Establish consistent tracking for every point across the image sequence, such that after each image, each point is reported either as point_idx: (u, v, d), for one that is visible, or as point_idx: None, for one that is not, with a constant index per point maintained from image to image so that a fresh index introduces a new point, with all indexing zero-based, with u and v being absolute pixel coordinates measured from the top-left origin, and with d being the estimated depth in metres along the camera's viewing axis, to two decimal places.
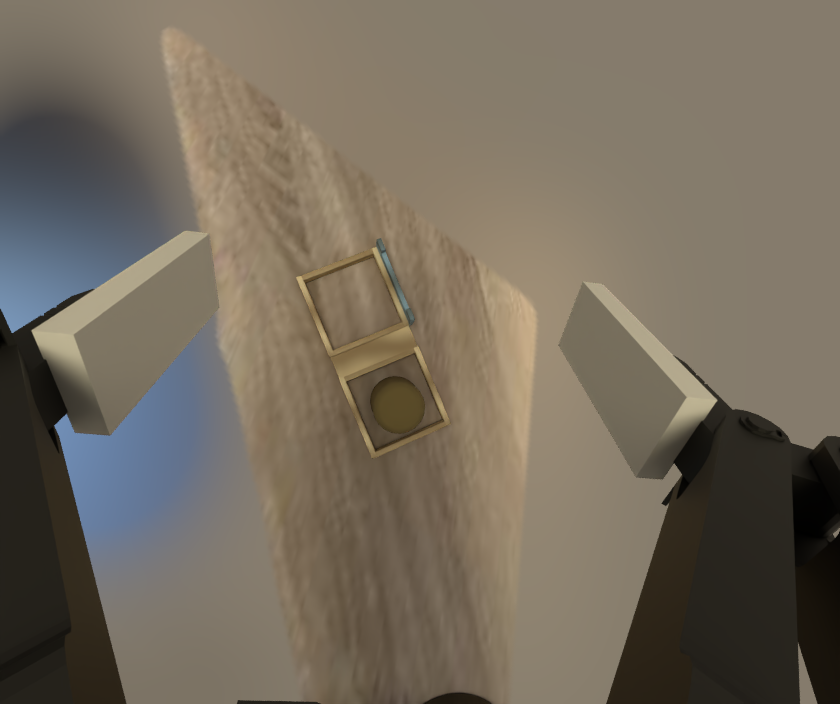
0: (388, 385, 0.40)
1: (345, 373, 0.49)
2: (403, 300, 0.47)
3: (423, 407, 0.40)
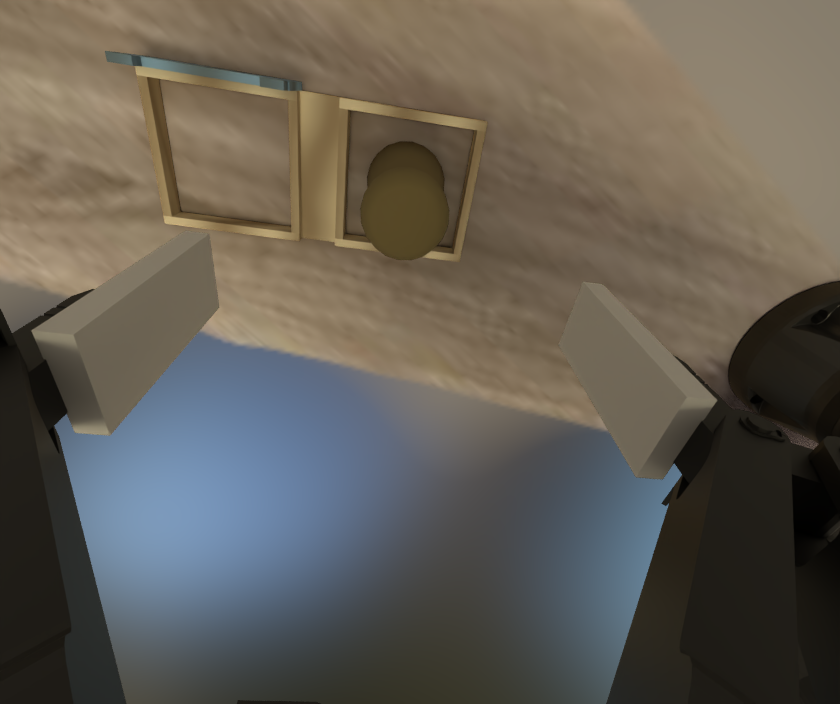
0: (361, 214, 0.23)
1: (332, 230, 0.33)
2: (244, 78, 0.25)
3: (426, 181, 0.22)
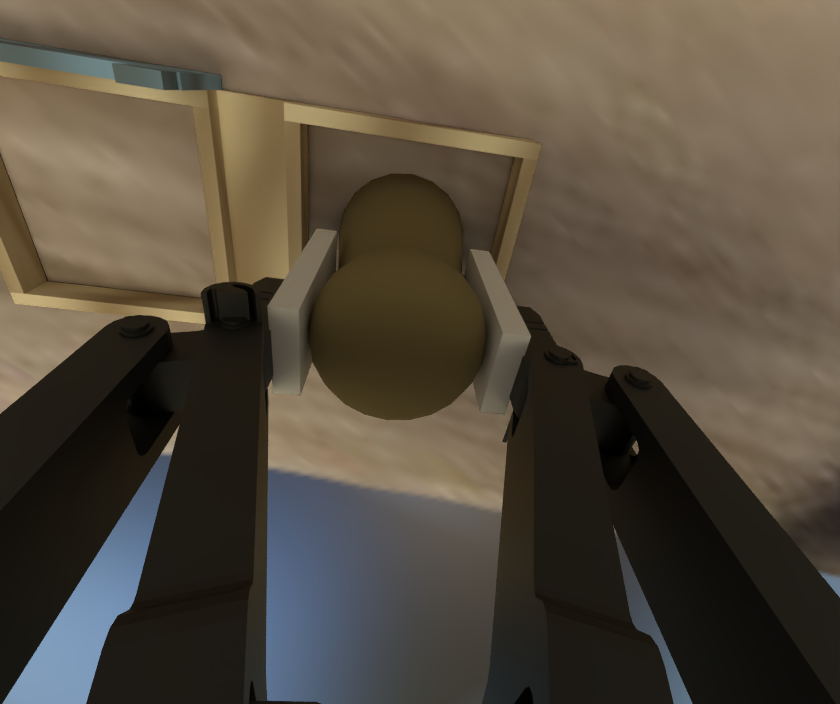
0: None
1: None
2: (93, 67, 0.13)
3: (442, 284, 0.10)
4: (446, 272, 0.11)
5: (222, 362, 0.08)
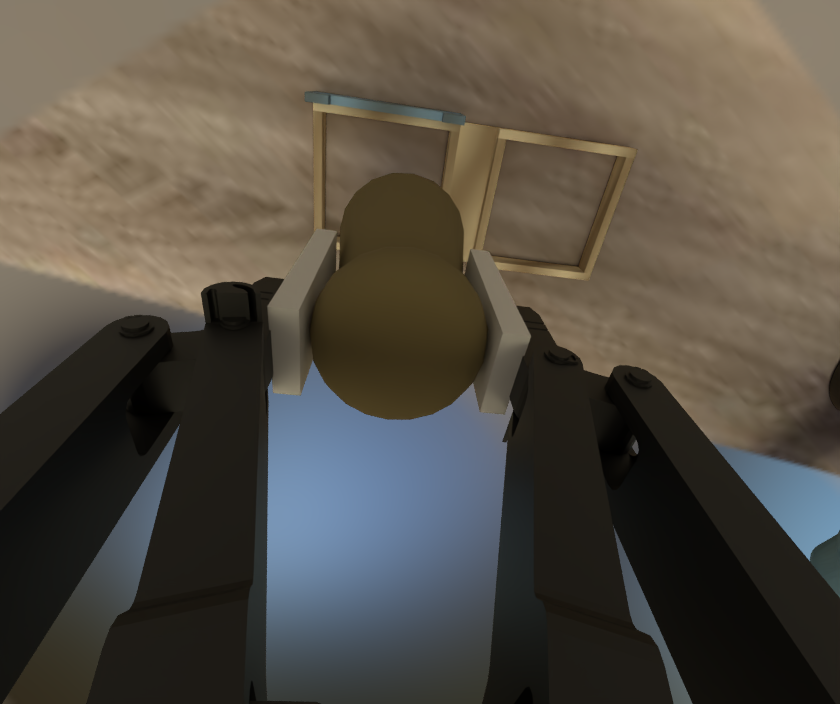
0: (311, 343, 0.11)
1: (468, 251, 0.34)
2: (424, 114, 0.27)
3: (444, 284, 0.10)
4: (447, 271, 0.11)
5: (222, 362, 0.08)
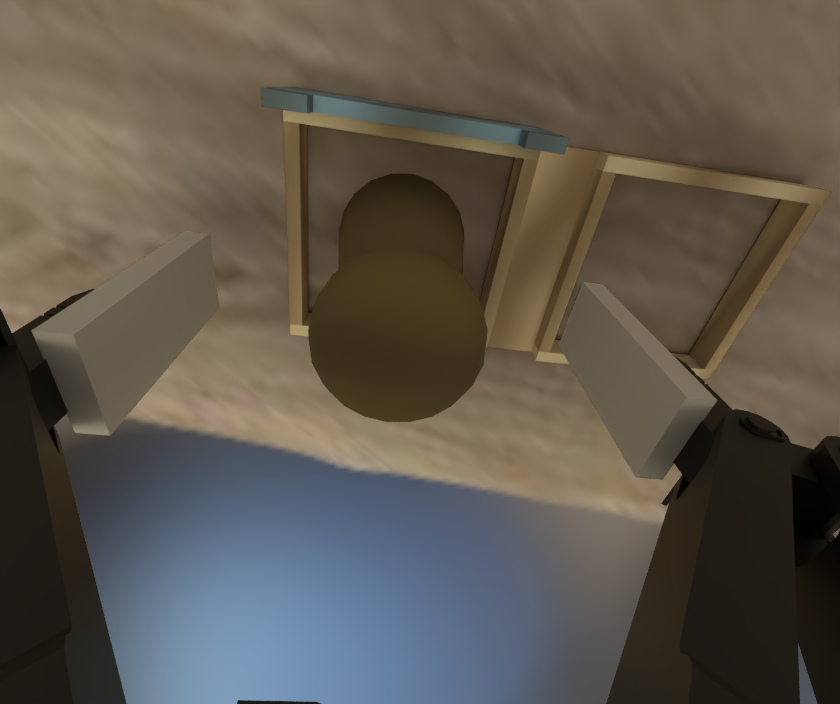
0: (310, 345, 0.11)
1: (530, 337, 0.22)
2: (487, 131, 0.14)
3: (443, 285, 0.10)
4: (447, 273, 0.11)
5: None
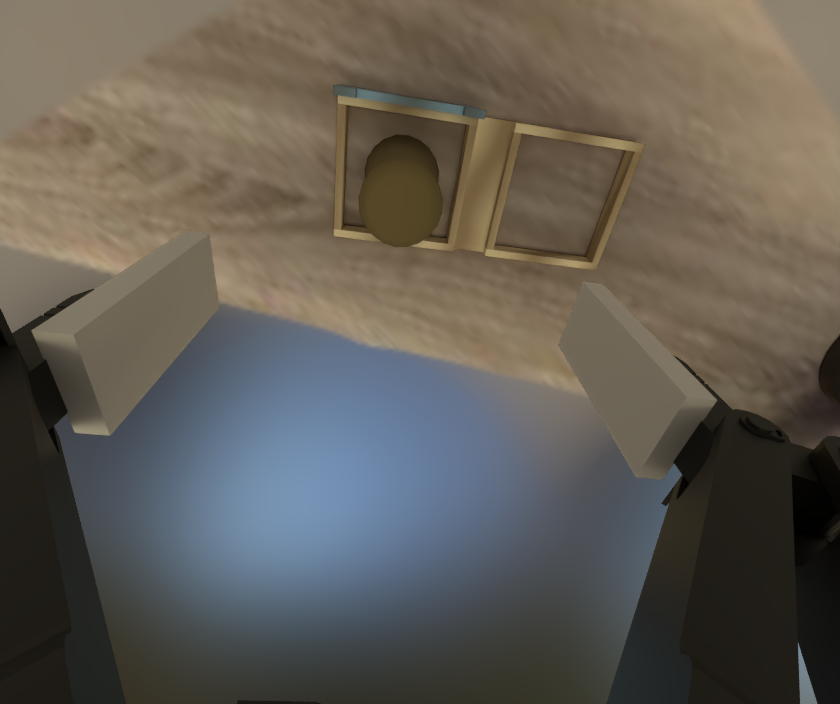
0: (360, 203, 0.25)
1: (481, 241, 0.36)
2: (446, 108, 0.28)
3: (420, 171, 0.24)
4: (422, 167, 0.24)
5: None
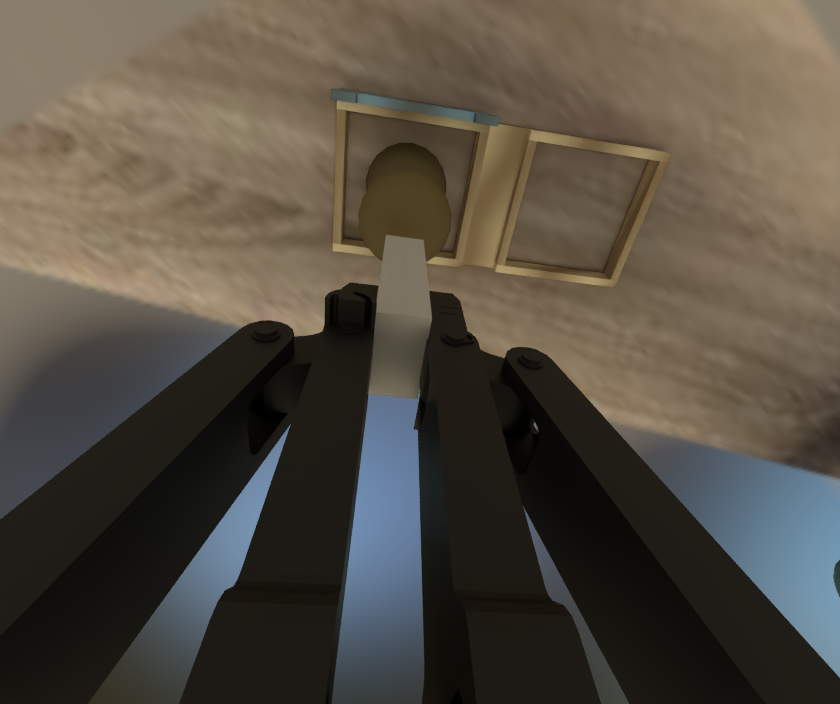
0: (360, 220, 0.22)
1: (491, 257, 0.33)
2: (455, 114, 0.25)
3: (427, 185, 0.21)
4: (429, 180, 0.22)
5: (336, 363, 0.09)
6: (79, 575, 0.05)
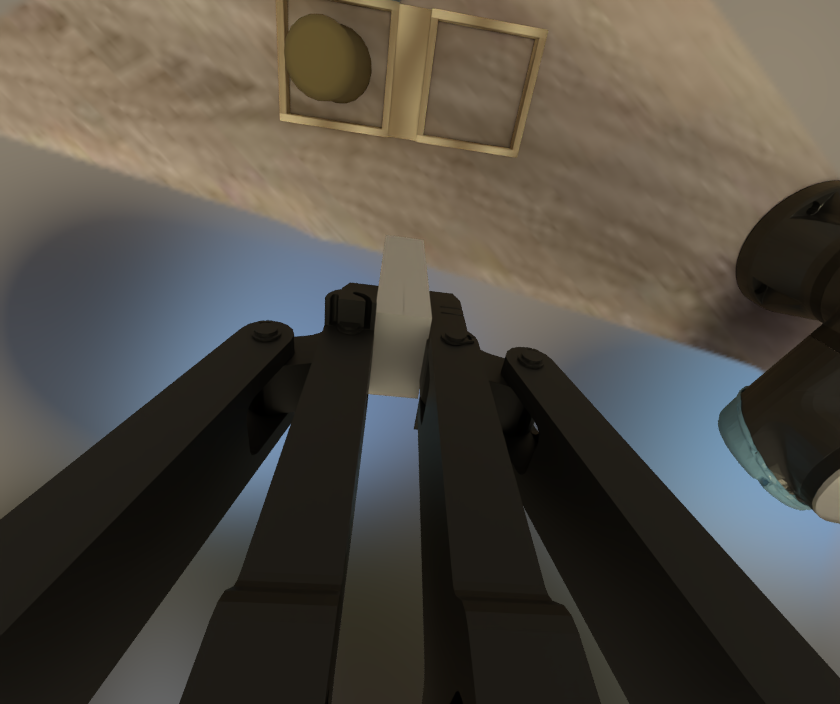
0: (284, 55, 0.29)
1: (413, 130, 0.40)
2: None
3: (332, 22, 0.28)
4: (335, 21, 0.29)
5: (335, 363, 0.09)
6: (79, 575, 0.05)
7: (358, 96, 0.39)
